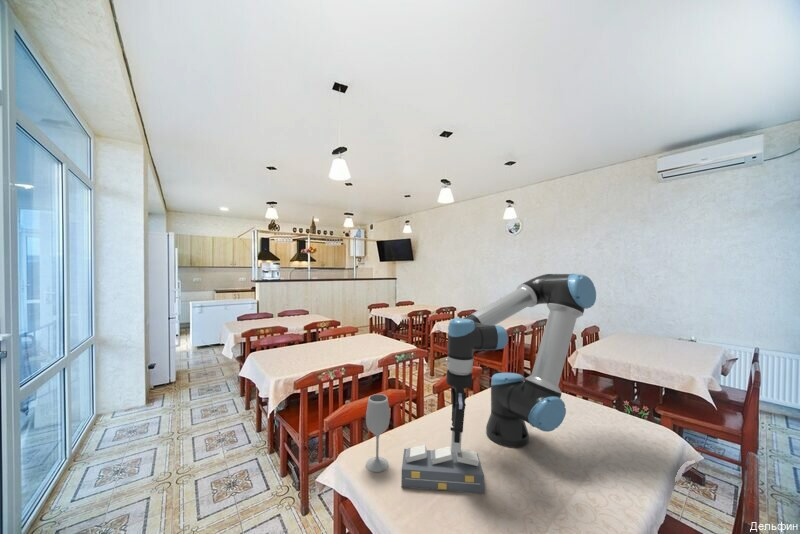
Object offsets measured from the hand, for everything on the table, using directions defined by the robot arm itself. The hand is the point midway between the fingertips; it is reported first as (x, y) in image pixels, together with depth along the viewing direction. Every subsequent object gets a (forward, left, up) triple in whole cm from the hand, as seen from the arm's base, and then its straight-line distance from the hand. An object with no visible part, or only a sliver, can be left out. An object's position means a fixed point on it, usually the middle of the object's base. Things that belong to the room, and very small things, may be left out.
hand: (455, 451), depth 88 cm
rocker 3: (-3, 0, -2) cm, 4 cm away
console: (+4, 0, -8) cm, 9 cm away
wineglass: (+24, -4, -9) cm, 26 cm away
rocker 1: (+12, 0, -2) cm, 12 cm away
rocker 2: (+4, 0, -2) cm, 5 cm away
